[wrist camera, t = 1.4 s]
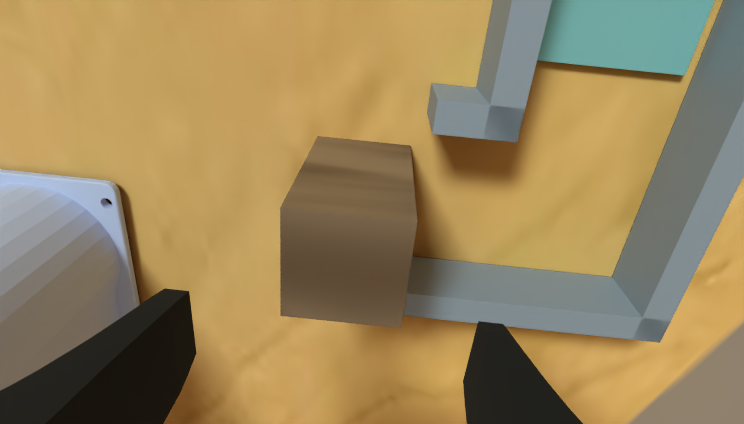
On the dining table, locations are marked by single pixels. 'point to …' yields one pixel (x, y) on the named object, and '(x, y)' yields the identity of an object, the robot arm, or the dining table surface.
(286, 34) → the dining table surface
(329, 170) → the block
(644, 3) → the pad
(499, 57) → the grey open rectangular frame
